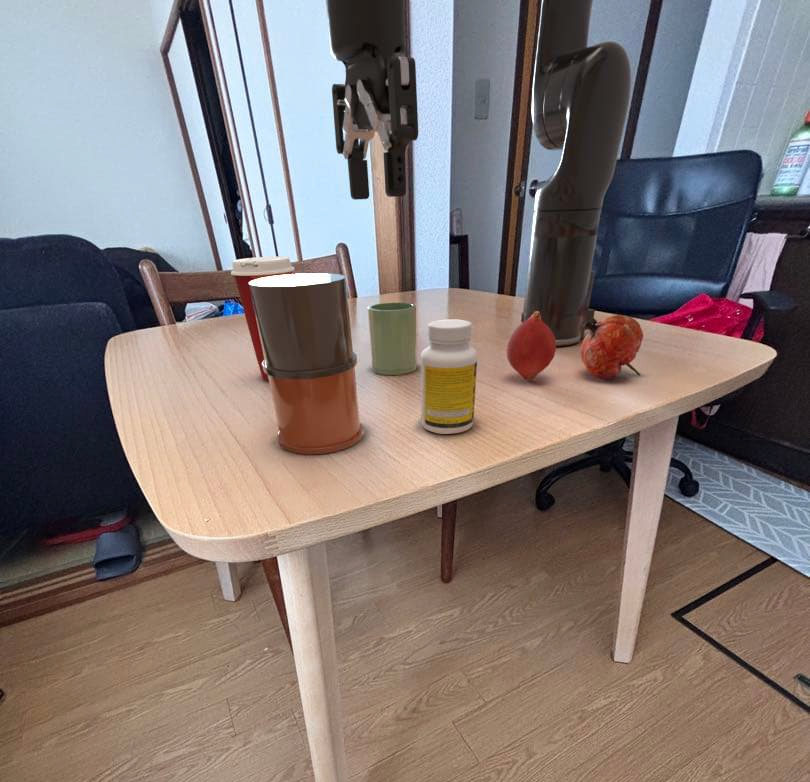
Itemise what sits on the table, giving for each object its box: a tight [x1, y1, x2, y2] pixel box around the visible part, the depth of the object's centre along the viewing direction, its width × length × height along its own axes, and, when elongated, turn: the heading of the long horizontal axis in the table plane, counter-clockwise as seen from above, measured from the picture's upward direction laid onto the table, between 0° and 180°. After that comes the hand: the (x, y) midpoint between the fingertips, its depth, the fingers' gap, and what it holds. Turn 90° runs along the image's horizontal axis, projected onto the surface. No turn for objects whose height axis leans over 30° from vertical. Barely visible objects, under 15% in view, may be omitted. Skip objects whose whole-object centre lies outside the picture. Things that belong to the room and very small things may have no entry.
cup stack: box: [249, 272, 365, 455], centre depth 43 cm, size 9×9×14 cm
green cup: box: [367, 301, 418, 376], centre depth 63 cm, size 6×6×8 cm
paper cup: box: [230, 256, 295, 382], centre depth 61 cm, size 8×8×14 cm
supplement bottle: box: [420, 318, 478, 435], centre depth 46 cm, size 5×5×10 cm
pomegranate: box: [580, 314, 644, 380], centre depth 58 cm, size 7×7×10 cm
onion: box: [506, 311, 557, 381], centre depth 57 cm, size 6×6×8 cm
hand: (377, 198), depth 54 cm, fingers open, 8 cm apart
